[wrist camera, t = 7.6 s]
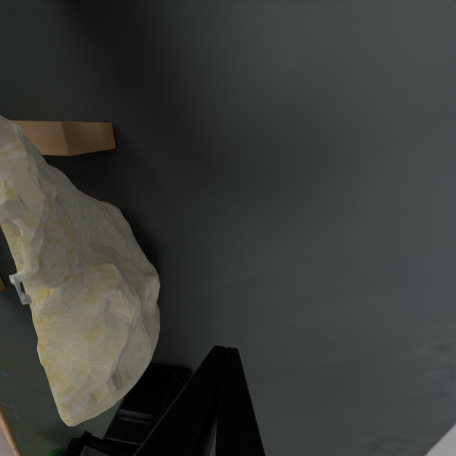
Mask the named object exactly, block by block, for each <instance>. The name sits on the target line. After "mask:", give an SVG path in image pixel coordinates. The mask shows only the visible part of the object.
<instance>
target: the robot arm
mask: <svg viewBox="0 0 456 456" xmlns="http://www.w3.org/2000/svg"><path fill="white" fill-rule="evenodd" d="M216 427H217V431H216ZM215 432H216V451H215V456H265V453H264V449H263V445H262V441H261V437H260V433H259V429H258V425H257V421H256V417H255V413H254V409H253V406H252V402H251V398H250V394H249V390H248V386H247V382H246V378H245V374H244V370H243V366H242V362H241V359H240V355H239V351H238V349H237V348H231V347H227V348H226V347H224V346H217V345H216V346H214V347H213V348H212V350H211V351H210V352H209V354H208V355H207V356H206V358H205V359H204V360H203V362H202V363H201V364H200V366H199V367H198V369H197V370H196V371H195V373H194V374H193V375H192V371H191V370H189V369H185V368H179V367H172V366H166V365H159V364H153V363H149V365H148V367H147V368H146V370H145V371H144V373H143V374H142V376H141V377H140V379H139V380H138V381H137V383H136V384H135V385H134V386H133V387H132V388H131V389H130V391H129V392H128V393H127V394H125V396H124V398H123V400H122V402H121V404H120V406H119V408H118V410H117V411H116V413H115V415H114V417H113V419H112V421H111V423H110V425H109V427H108V429H107V431H106V433H105V435H104V436H103V438H102V440H101V439H99V438H97V437H94V436H92V433H89V432H87V431H85V432H84V434H83V435H82V437H80V438H72V440H71V441H70V443H69V445H68V446H67V448H66V450H65V451H64V453H63V454H62V456H210V452H211V448H212V444H213V440H214V436H215Z"/></svg>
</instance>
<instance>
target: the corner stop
mask: <svg viewBox="0 0 456 456" xmlns="http://www.w3.org/2000/svg"><path fill="white" fill-rule="evenodd" d="M10 121H12V122H14V123H16V124H17V125H19V126H21V128H22V130H23V132H24V134H25V136H26V137H27V138H28V139H29V140H30V141H31V142H32V143H33V144H34V145H35V146H36V147H37V149H38V150H39V151H40V152H41V154H42V155H54V156H73V155H79V154H85V153H91V152H97V151H103V150H109V149H115V148H116V147H115V140H114V134H113V128H112V123H108V122H68V121H28V120H10ZM4 289H5V285H4V283H3V281H2V278H1V276H0V292H1V291H2V290H4Z"/></svg>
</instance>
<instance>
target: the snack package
mask: <svg viewBox="0 0 456 456" xmlns="http://www.w3.org/2000/svg"><path fill="white" fill-rule="evenodd" d="M66 448H67V447H66ZM66 448H63V449H55V450H52V451H51V452H49V453H48V454H47V455H46V456H62V454H63V453H64V451H65V450H66Z"/></svg>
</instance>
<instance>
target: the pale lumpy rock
mask: <svg viewBox="0 0 456 456" xmlns="http://www.w3.org/2000/svg"><path fill="white" fill-rule="evenodd" d="M0 225H1V227H2V230H3V232H4V234H5V237H6V239H7V242H8V245H9V247H10V250H11V254H12V257H13V258H14V260H15V264H16V268H17V272H18V273H16V274H13V275H10V276H9V278H10V281H11V283H12V284H13V285H15V286H16V289H17V291H18V294H19V297H20V300H21V302H22V305H24V304H28V303H29V304H30V307H31V311H32V318H33V323H34V326H35V329H36V333H37V336H38V346H37V351H38V355H39V358H40V362H41V364H42V365H43V367H44V368H45V371H46V374H47V377H48V380H49V384H50V387H51V390H52V393H53V397H54V400H55V403H56V405H57V408H58V411H59V414H60V416H61V419H62V420H63V421H64V422H65V423H66V424H67V425H68V426H76V425H77V424H79V423H81V422H83V421H86V420H88V419H91V418H94V417H96V416H98V415H99V414H101V413H102V412H104V411H106V410H107V409H109V408H111V407H112V406H113V405H114V404H115V403H117V402H118V401H119V400H120V399H121V398H122V397H123V396H124V395H125V394H127V393H128V392H129V391H130V389H131V388H132V387H133V386H134V385H135V384H136V383H137V381H138V380H139V379H140V377H141V376H142V374H143V373H144V371H145V370H146V368H147V367H148V365H149V363H150V362H151V360H152V356H153V352H154V350H155V347H156V344H157V341H158V337H159V331H160V311H159V308H158V305H157V299H158V295H159V288H160V282H159V279H158V276H159V275H158V274H157V272H156V269H155V268H154V266H153V265H152V264H151V263H150V262H149V261H148V259H147V257H146V256H145V254H144V253H143V251H142V249H141V248H140V246H139V245H138V243H137V241H136V239H135V237H134V235H133V233H132V230H131V227H130V225H129V223H128V222H127V221H126V219H125V218H124V216H123V215H122V214H121V211H120V209H119V208H118V207H116V206H113V205H111V204H109V203H107V202H104V201H98V200H97V199H94V198H92V197H89V196H88V195H86V194H84V193H83V192H81V191H79V190H77V188H76V187H75V186H74V185H73V184H72V183H71V181H70V180H69V178H68V177H67V176H66V175H65V174H63V173H62V172H61V171H60V170H59V169H57V168H55V167H52V166H50V165H48V164H47V163H46V161H45V160H44V158H43V157H42V154H41V152H40V151H39V150H38V149H37V147H36V146H35V145H34V144H33V143H32V142H31V141H30V140H29V139H28V138H27V137H26V136H25V134H24V132H23V130H22V128H21V126H19V125H17V124H16V123H14V122H12V121H10V120H8V119H6V118H5V117H3V116H1V115H0ZM21 281H22V283H23V285H24V288H25V292H26V294H25V293H23V292H21V288H20V282H21Z"/></svg>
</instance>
